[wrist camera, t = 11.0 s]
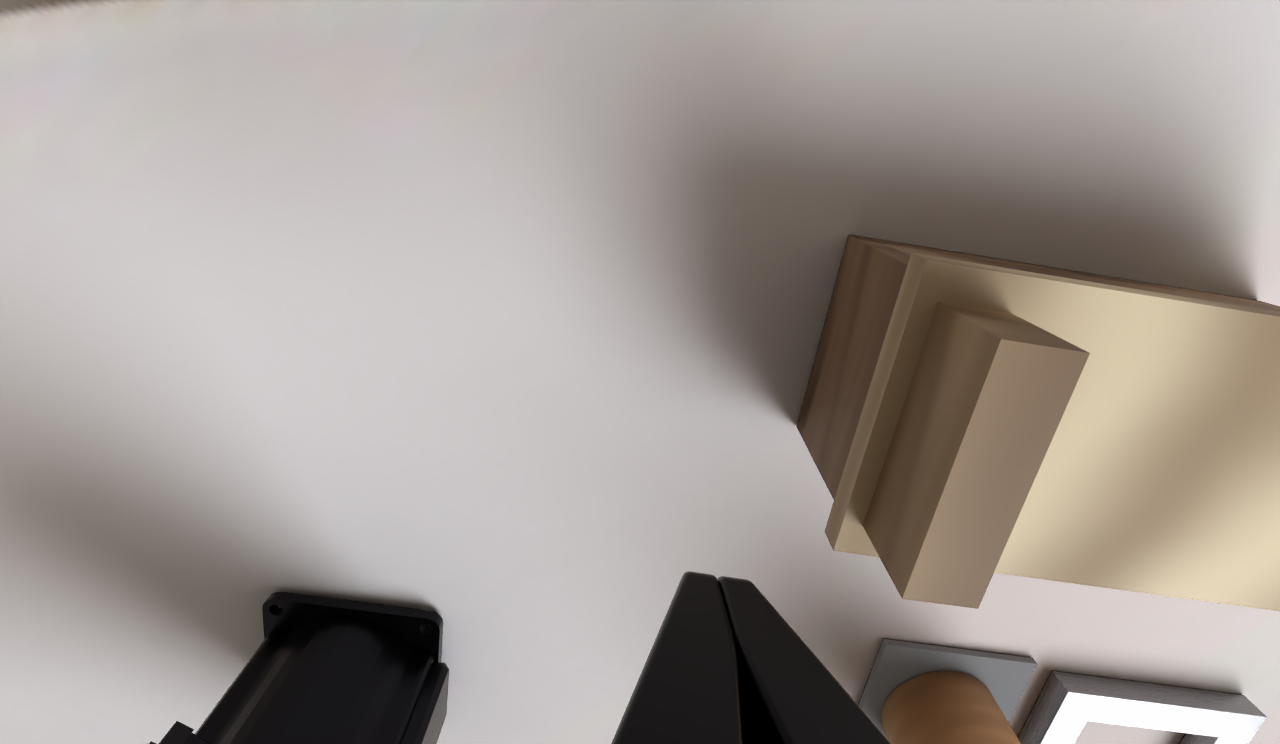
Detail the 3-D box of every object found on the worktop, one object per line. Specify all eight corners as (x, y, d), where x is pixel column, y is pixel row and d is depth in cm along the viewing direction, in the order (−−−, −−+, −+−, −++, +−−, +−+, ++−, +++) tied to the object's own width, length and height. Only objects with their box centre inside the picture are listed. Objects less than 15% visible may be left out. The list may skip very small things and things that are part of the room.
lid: (824, 531, 16) (867, 626, 13) (911, 252, 14) (989, 289, 11) (1328, 600, 17) (1481, 706, 14) (1502, 348, 14) (1737, 408, 11)
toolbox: (796, 426, 21) (839, 510, 16) (849, 234, 19) (915, 270, 14) (1165, 480, 22) (1307, 576, 17) (1259, 301, 19) (1453, 355, 15)
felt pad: (841, 749, 26) (844, 755, 26) (883, 638, 24) (886, 644, 24) (979, 765, 27) (982, 772, 26) (1032, 658, 25) (1037, 663, 24)
